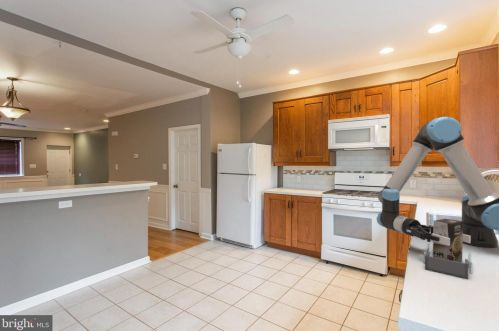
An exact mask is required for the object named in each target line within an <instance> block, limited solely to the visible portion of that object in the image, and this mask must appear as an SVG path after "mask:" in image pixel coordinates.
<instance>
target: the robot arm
mask: <svg viewBox="0 0 499 331" xmlns="http://www.w3.org/2000/svg"><path fill="white" fill-rule="evenodd" d="M464 141H465V138H464V135H463V134H462V125H461V123H460V122H459V120H457V119H456V118H453V117H450V116H441V117H436V118H434V119H432V120H430V121H428V122H426V123H424V124H423V126H422V127H421V128H420V129H419V131H418V132H417V135H416V136H415V138H414V139H413V141H412V143H411V144H412V146H411V147H410V149H409V150H408V152H407V153H406V155H405V156H404V157H403V159H402V160H401V162H400V164H398V166H397V168H396V169H395V171H394V172H393V174H392V175H391V177H390V178H389V179H388V181H387V182H386V183H385V185H384V187H383V188H382V190H379V192H378V194H377V199H378V201H379V202H380V203H381V211H380V212H378V214H377V216H376V223H377V224H378V226H380V227H384V228H385V229H389V230H392V231H395V232H398V233H400V234H402V235H408V236H411V237H415V238H417V239H420V240H422V241H426V242H427V243H432V242H433V241H435V242H438V243H441V244H444V245H447V246H450V238H447V237H444V236H440V235H437V234H433V225H432V224H431V225H426V224H421V222H420V221H419V220H418V219H414V218H410V217H407V216H404V215H400V199H401V196H400V193H401V192H402V189H403V188H404V187H405V186H406V184H407V183H408V181H409V180H410V179H411V177H412V176H413V174H414V173H415V171H416V170H417V169H418V167H419V166H420V164H421V163H422V161H423V160H424V159H425V157H426V156H427V154H428V153H430V152H433V150H434V151H435V152H437V153H440V154H441V155H442V157H443V158H444V159H445V162H446V164H447V165H448V166H449V168H450V169H451V171H452V173H453V175H454V176H455V178H456V180H457V181H458V182H459V185H460V186H461V188H462V189H463V191H464V192H465V194H466V195H463V196H462V197H461V198H462V200H461V221H463V243H464V244H467V245H469V246H470V245H471V246H476V247H481V248H497V247H499V241H498V238H497V234H496V232H495V231H499V193H497V192H494V191H493V189H492V188H491V186H490V185H489V183H488V182H487V180H486V178H485V177H484V175H483V174H482V172H481V171H480V169H479V167H478V166H477V164H476V163H475V161H474V159H473V158H472V157H471V155H470V153H469V152H468V150H467V149H466V147H465V145H464V144H463V143H464ZM431 241H432V242H431Z"/></svg>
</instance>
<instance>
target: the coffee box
mask: <svg viewBox="0 0 499 331" xmlns="http://www.w3.org/2000/svg"><path fill="white" fill-rule="evenodd" d="M432 226H433V234H437V235H440V236H444V237H447V238H450V246H447V245H444V244H441V243H438V242H435V241H432V257H436V258H441V259H446V260H451V261H456V262H461V263H463V221H462V220H457V219H450V218H441V219H435V220H433V225H432Z"/></svg>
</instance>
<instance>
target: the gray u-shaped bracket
mask: <svg viewBox="0 0 499 331" xmlns="http://www.w3.org/2000/svg"><path fill="white" fill-rule="evenodd" d="M471 253H472V252H471V251H468V258H464V262H456V261H451V260H446V259H441V258H436V257H433V256H431V255H430V244H429V243H428V244H427V245H426V247H425V250H424V252H423V264H424V270H427V271H430V272H435V273H439V274H442V275H447V276H448V275H449V276H451V277H457V278H460V279H463V280H464V279H466V280H469V274H471V275H472V254H471Z"/></svg>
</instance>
